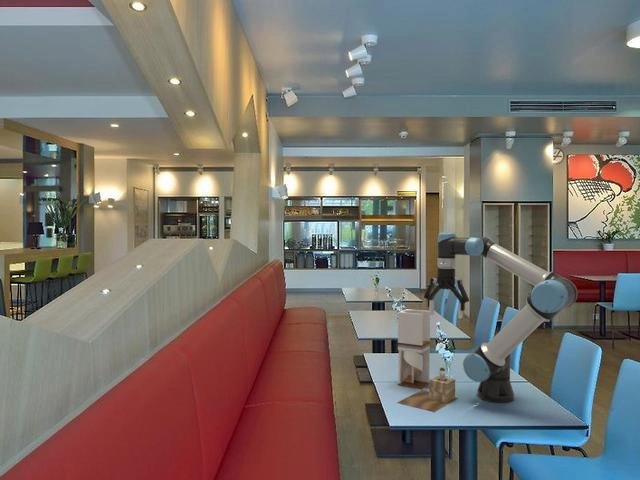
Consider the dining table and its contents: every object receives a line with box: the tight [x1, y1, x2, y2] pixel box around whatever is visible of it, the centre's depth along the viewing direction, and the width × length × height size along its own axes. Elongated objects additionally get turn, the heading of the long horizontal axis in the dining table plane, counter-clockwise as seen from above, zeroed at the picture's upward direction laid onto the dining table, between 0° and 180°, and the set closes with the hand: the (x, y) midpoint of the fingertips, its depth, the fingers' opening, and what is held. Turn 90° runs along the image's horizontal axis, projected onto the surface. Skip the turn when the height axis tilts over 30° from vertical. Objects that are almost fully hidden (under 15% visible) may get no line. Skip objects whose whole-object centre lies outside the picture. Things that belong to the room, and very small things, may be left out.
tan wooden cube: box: [428, 375, 456, 403], centre depth 218 cm, size 8×8×8 cm
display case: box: [397, 308, 431, 390], centre depth 238 cm, size 11×11×35 cm
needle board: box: [396, 367, 459, 413], centre depth 216 cm, size 17×22×15 cm
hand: (445, 316), depth 227 cm, fingers open, 13 cm apart
